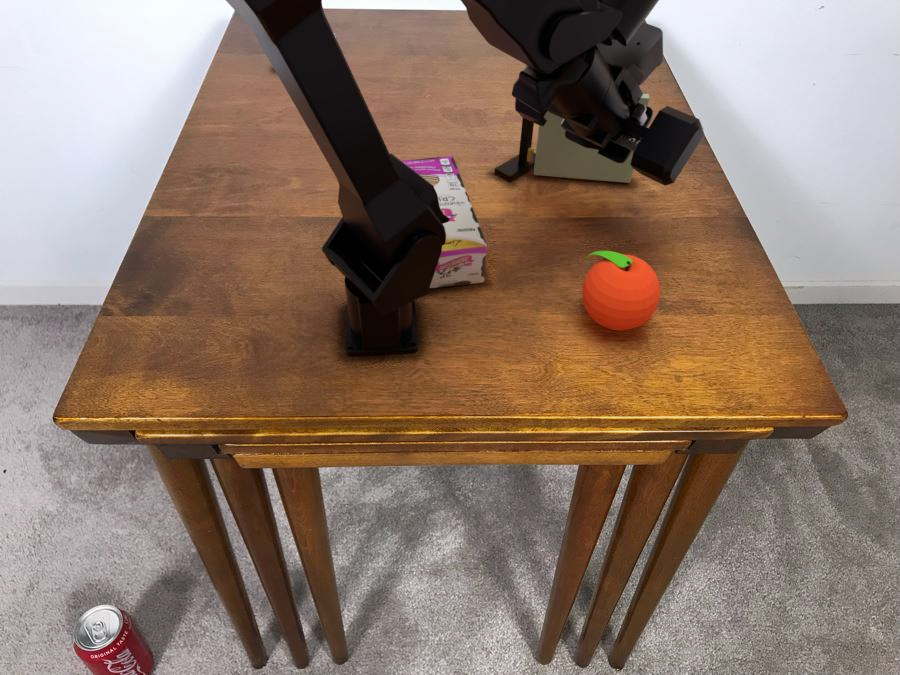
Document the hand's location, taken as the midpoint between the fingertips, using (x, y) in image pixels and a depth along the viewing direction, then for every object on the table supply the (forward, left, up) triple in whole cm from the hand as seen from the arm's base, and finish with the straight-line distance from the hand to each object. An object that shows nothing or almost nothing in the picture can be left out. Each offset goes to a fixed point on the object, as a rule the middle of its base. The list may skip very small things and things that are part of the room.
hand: (626, 149), depth 77 cm
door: (+4, +3, -6) cm, 8 cm away
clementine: (-19, +5, -6) cm, 21 cm away
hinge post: (+7, +10, -6) cm, 13 cm away
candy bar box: (+2, +24, -4) cm, 24 cm away
